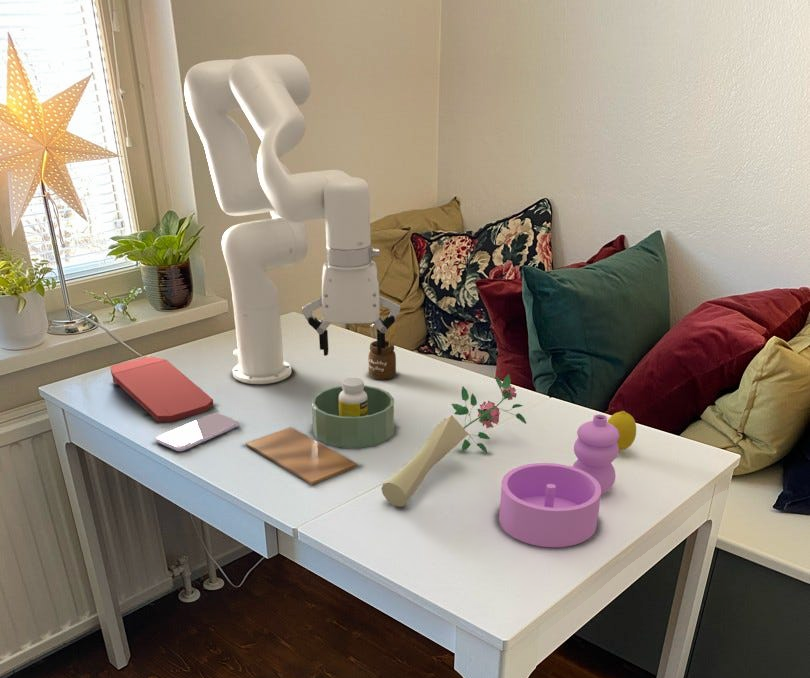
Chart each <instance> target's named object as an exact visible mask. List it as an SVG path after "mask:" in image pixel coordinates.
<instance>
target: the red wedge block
mask: <svg viewBox="0 0 810 678" xmlns="http://www.w3.org/2000/svg"><path fill="white" fill-rule="evenodd" d="M109 368H110V373H111V376H112V382H113V384H115V386H117V387H120V388H121V389H122V390H124V391H125V393H127V394H128V395H129V396H130V397H131V398H132V399H133V400H134V401H135V402H136V403H137V404H139V405H140V406H141V407H142V408H143V409H144V410H145V411H146V412H147V413H148V414H149V415H150V416H151V417H152V418H153V419H155V420H156V421H157V422H158V423H169V422H170V423H171V422H172V423H173V422H175V421H178V420H182V419H185V418H189V417H191V416H196V415H198V414H202V413H205V412H208V410H210V409H211V408H212V407H213V406H214V399H213V398H212V397H211V396H210V395H208V394H207V393H206V392H205V391H204V390H203V389H202V388H200V387H199V386H198V385H197V384H195V382H193V381H192V380H191V379H190V378H189V377H187V376H186V375H185V374H184V373H183V372H182V371H180V370H179V369H178V368H177V367H176V366H175V365H174V364H172V363H171V362H170V361H169V360H168V359H165V358H160V357H156V356H152V355H151V356H143V357H140V358H136V359H131V360H128V361H123V362H120V363H116V364H112V365H110V366H109Z"/></svg>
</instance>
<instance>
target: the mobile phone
mask: <svg viewBox="0 0 810 678" xmlns="http://www.w3.org/2000/svg"><path fill="white" fill-rule="evenodd" d="M239 426H240V422H239V420H236V419H234V418H231V417H229V416H226V415H224V414H221V413H218V412H212V413H210V414H207V415H205V416H203V417H200V418H198V419H195V420H193V421H191V422H189V423H186V424H184V425H182V426H179V427H176V428H174V429H173V430H170V431H167V432H165V433H163V434H160V435H158V436H157V437H156V438H155V441H156V442H157V443H158V444H160V445H162V446H165V447H167V448H169V449H172V450H174V451H177V452H185V451H187V450H189V449H191V448H194V447H196V446H198V445H200V444H203V443H204V442H206V441H209V440H211V439H213V438H215V437H218V436H220V435H223V434H224V433H227V432H229V431H231V430H234V429H236V428H238V427H239Z"/></svg>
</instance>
